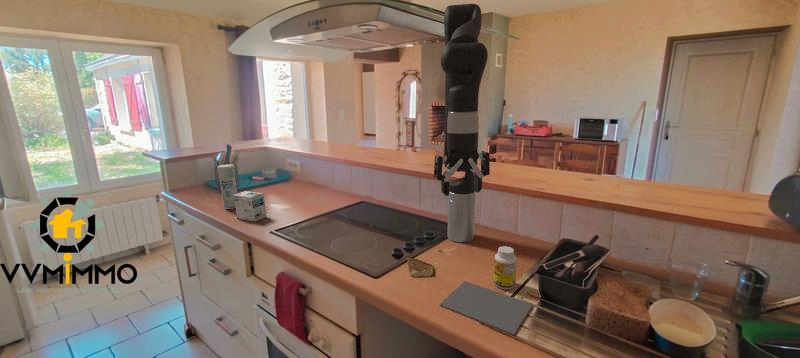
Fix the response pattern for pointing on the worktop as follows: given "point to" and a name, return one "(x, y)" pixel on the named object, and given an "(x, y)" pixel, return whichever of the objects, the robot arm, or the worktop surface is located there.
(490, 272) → the worktop surface
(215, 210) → the worktop surface
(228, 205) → the spray can
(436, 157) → the robot arm
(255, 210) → the light bulb box
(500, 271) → the supplement bottle
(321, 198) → the worktop surface
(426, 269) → the shard
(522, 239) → the worktop surface
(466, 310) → the mat
